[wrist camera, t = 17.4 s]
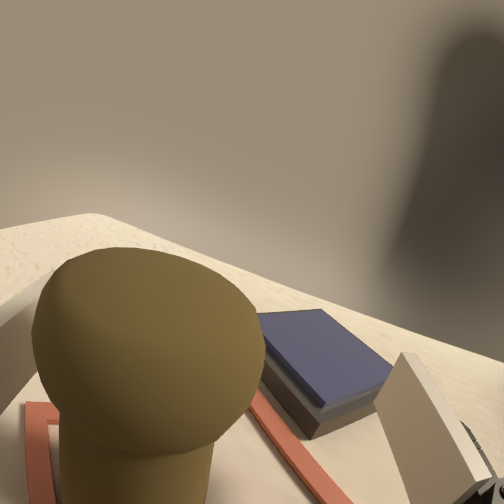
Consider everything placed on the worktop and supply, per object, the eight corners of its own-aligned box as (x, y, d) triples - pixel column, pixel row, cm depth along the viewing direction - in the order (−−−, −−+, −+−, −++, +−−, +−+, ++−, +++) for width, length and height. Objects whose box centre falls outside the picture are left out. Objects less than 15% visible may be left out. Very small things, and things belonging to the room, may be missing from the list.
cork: (36, 477, 8) (-10, 222, 5) (140, 437, 13) (179, 222, 10) (124, 590, 5) (103, 452, 2) (230, 519, 10) (350, 313, 7)
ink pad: (404, 396, 21) (416, 377, 20) (310, 440, 16) (323, 418, 15) (316, 321, 30) (322, 304, 30) (224, 330, 25) (229, 309, 25)
